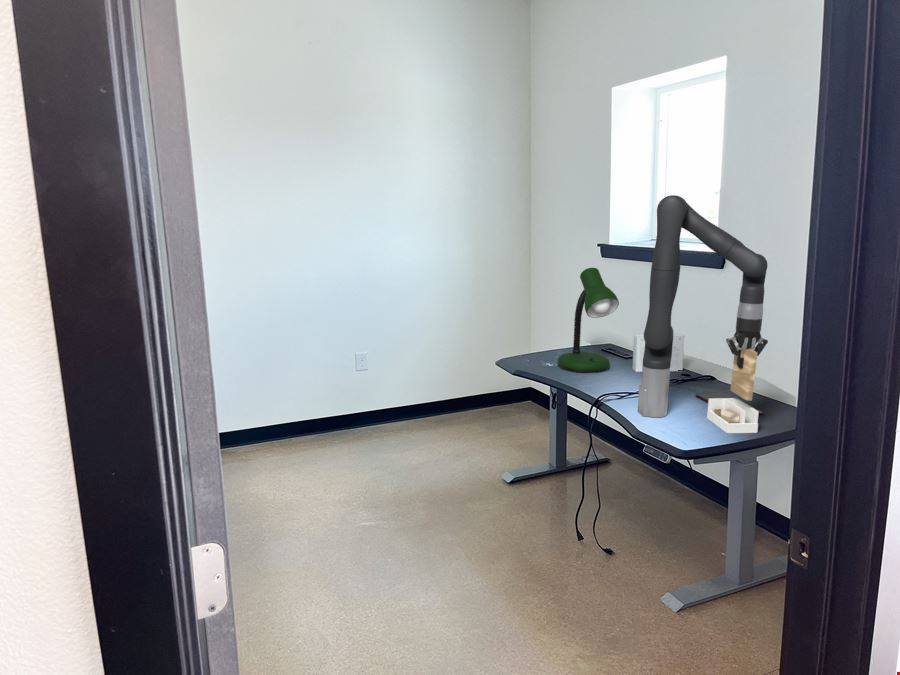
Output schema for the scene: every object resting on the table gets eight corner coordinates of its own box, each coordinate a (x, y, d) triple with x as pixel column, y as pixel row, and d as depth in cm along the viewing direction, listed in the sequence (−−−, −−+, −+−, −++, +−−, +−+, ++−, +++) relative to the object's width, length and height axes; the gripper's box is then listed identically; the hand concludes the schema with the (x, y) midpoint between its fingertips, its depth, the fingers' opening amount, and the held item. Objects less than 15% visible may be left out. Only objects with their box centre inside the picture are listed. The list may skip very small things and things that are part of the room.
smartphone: (735, 415, 227) (694, 393, 251) (734, 419, 227) (693, 397, 251) (766, 412, 229) (722, 391, 253) (765, 417, 230) (722, 395, 254)
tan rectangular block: (746, 400, 212) (751, 352, 208) (730, 390, 222) (735, 344, 219) (752, 400, 212) (757, 352, 208) (735, 390, 222) (740, 344, 219)
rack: (727, 433, 211) (729, 412, 210) (706, 417, 226) (708, 398, 225) (757, 432, 212) (759, 412, 210) (735, 417, 227) (736, 398, 225)
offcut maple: (728, 422, 213) (729, 413, 212) (720, 417, 218) (721, 408, 217) (738, 422, 214) (739, 413, 213) (729, 417, 218) (730, 408, 218)
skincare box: (678, 368, 291) (680, 333, 288) (682, 371, 286) (685, 336, 283) (631, 368, 291) (633, 333, 287) (635, 372, 285) (637, 336, 282)
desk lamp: (628, 375, 279) (634, 270, 270) (580, 379, 273) (585, 272, 264) (593, 358, 308) (598, 263, 299) (549, 362, 302) (553, 264, 293)
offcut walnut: (719, 423, 220) (720, 412, 220) (713, 420, 224) (714, 409, 223) (728, 423, 221) (729, 412, 220) (722, 419, 224) (723, 408, 223)
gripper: (734, 318, 207) (729, 371, 211) (776, 318, 208) (770, 370, 212) (723, 314, 215) (718, 365, 218) (764, 314, 215) (758, 365, 219)
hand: (744, 367), depth 215 cm, fingers closed on tan rectangular block, 2 cm apart
